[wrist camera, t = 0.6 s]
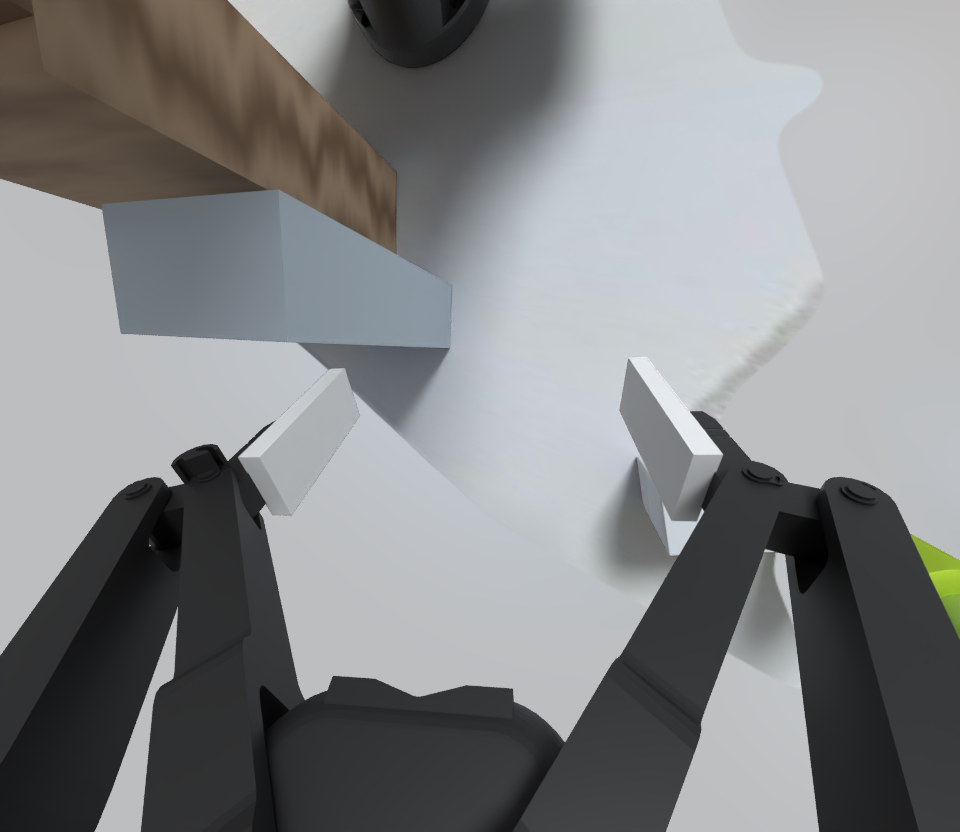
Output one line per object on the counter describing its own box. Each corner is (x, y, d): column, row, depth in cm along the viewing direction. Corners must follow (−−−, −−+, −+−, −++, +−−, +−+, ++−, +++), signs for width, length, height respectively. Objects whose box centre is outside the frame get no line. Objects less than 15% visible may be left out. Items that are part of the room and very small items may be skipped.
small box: (641, 503, 38) (666, 558, 28) (635, 454, 37) (657, 492, 27) (726, 498, 35) (786, 555, 25) (721, 445, 35) (780, 483, 25)
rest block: (359, 285, 42) (101, 204, 19) (452, 285, 39) (278, 189, 16) (360, 343, 43) (120, 333, 20) (450, 348, 40) (287, 342, 17)
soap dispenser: (845, 474, 32) (1233, 647, 13) (855, 542, 33) (1233, 797, 14) (771, 483, 34) (1021, 648, 15) (782, 547, 35) (1032, 782, 16)
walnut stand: (265, 183, 43) (-294, -123, 15) (396, 171, 38) (-60, -292, 11) (270, 260, 44) (-224, 110, 17) (396, 258, 40) (3, 49, 13)
